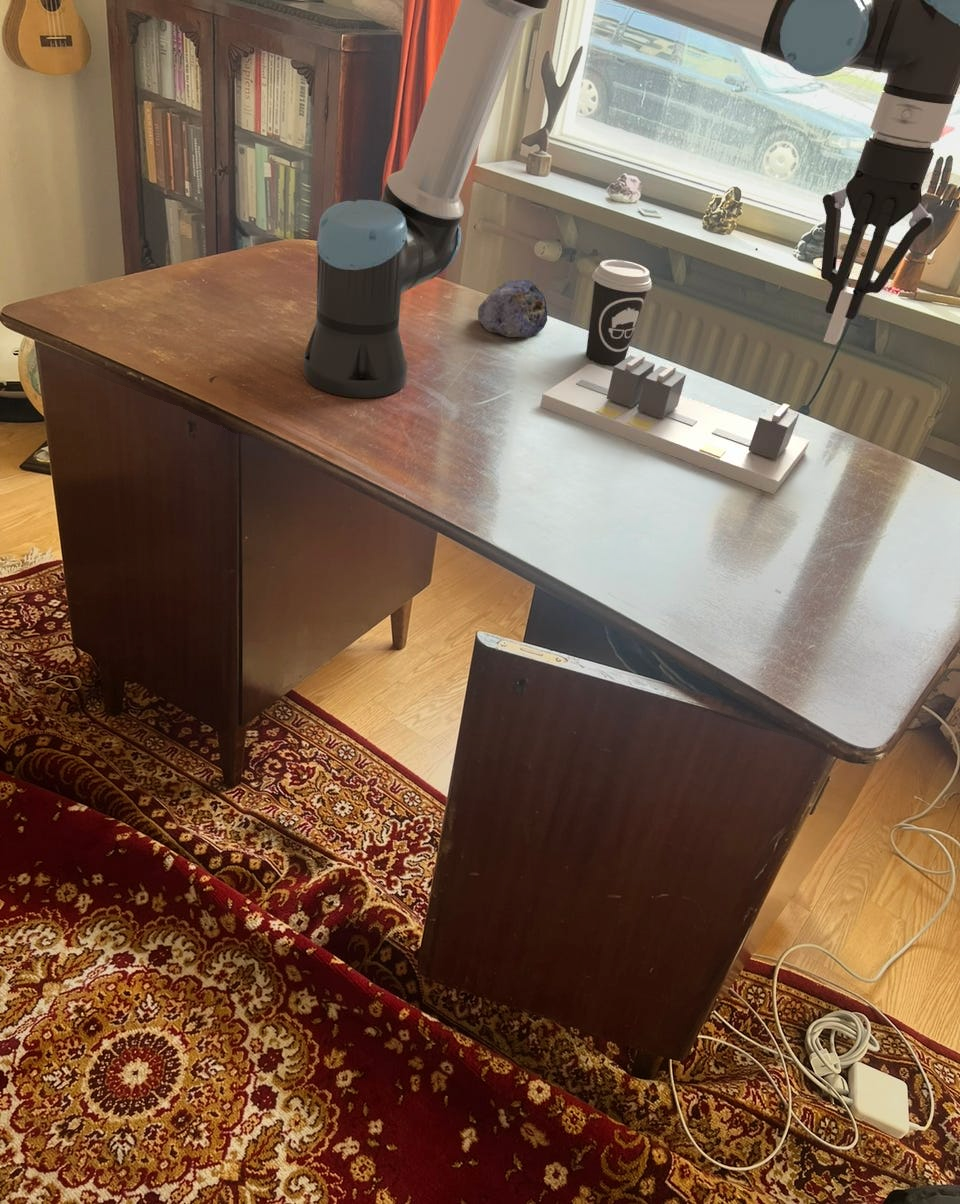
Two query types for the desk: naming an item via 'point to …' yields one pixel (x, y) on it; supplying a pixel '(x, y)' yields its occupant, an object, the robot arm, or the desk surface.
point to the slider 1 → (629, 380)
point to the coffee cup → (615, 309)
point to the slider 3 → (773, 431)
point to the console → (676, 430)
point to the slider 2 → (661, 391)
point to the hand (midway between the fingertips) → (831, 340)
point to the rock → (514, 310)
